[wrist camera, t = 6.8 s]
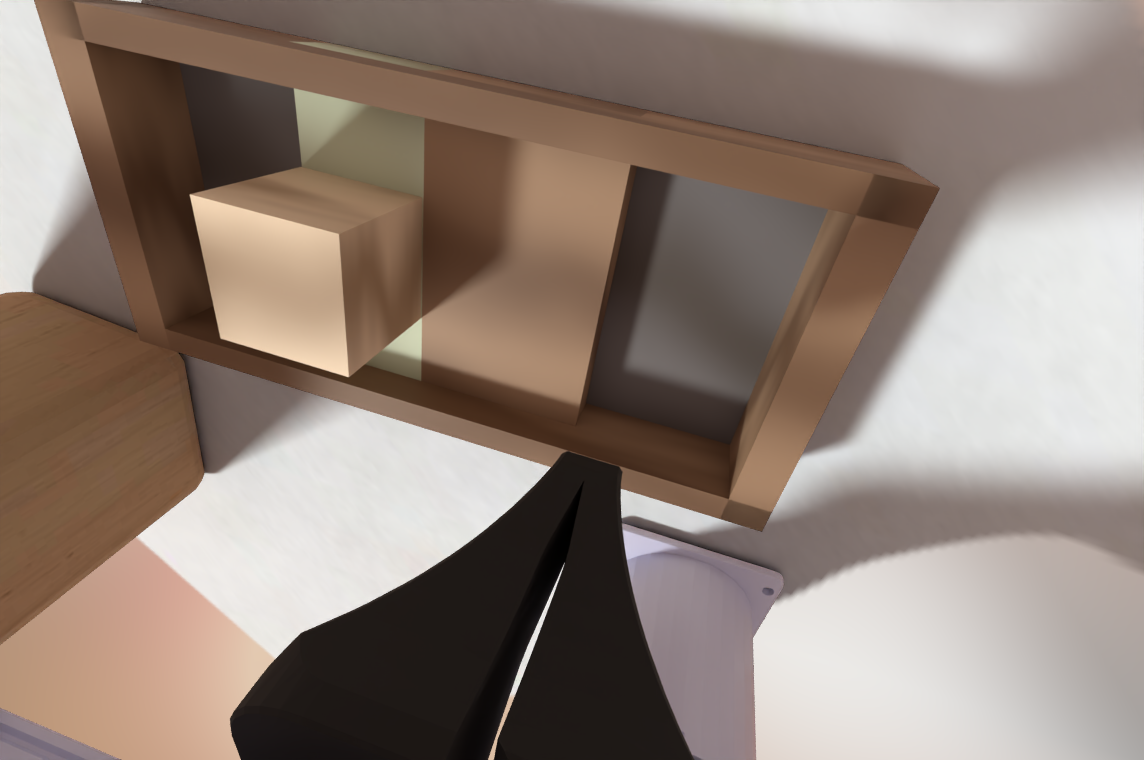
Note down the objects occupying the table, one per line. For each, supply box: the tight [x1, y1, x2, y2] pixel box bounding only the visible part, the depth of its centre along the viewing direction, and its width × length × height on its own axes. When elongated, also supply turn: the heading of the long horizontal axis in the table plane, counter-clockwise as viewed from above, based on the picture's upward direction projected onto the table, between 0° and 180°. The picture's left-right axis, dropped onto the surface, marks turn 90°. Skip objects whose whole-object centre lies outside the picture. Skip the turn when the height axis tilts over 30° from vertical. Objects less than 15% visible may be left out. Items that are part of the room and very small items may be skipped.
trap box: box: [34, 0, 940, 532], centre depth 19 cm, size 12×26×4 cm, turn 80°
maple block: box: [190, 167, 422, 377], centre depth 17 cm, size 4×4×4 cm
